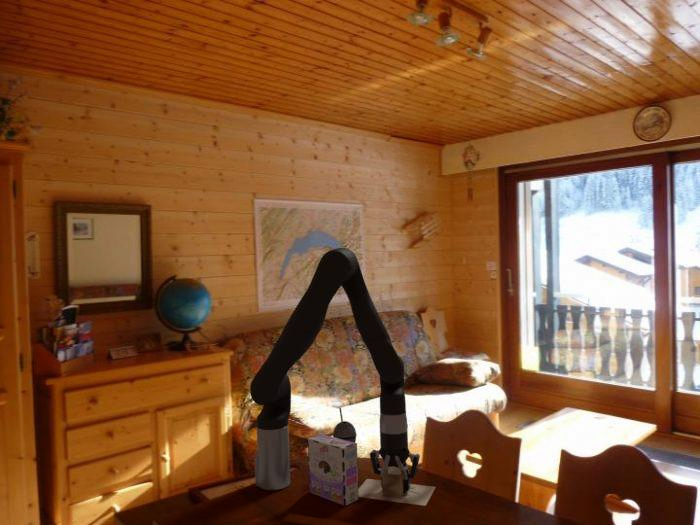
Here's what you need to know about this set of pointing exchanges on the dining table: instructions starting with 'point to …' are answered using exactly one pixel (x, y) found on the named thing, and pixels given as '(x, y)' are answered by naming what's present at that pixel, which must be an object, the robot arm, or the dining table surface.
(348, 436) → the beverage cup
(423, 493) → the board
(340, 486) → the candy box
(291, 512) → the dining table surface
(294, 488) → the dining table surface
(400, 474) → the block
